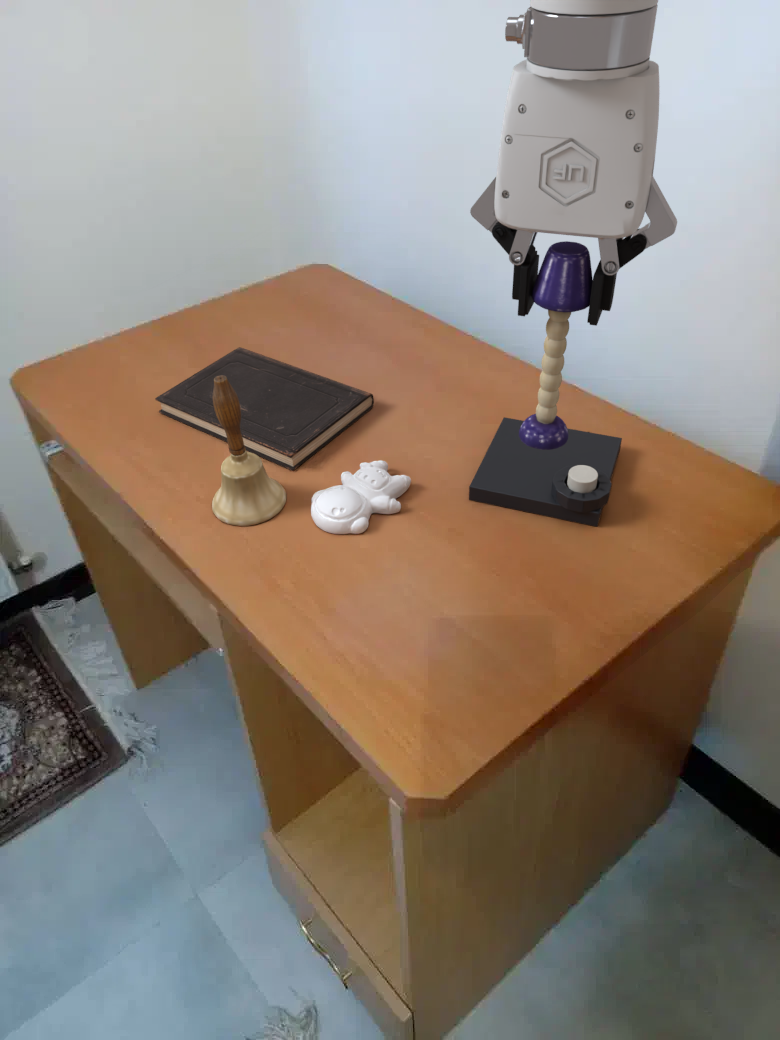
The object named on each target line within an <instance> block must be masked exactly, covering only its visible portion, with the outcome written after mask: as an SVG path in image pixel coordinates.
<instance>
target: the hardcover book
mask: <svg viewBox="0 0 780 1040" xmlns="http://www.w3.org/2000/svg"><path fill="white" fill-rule="evenodd" d="M220 375H224V376H226V377H227V379H228V381H229V383H230V385H231V386H232V387H233V389H234V391H235V392H236V394H237V397H238V399H239V403H240V409H241V422H240V431H241V435H242V438H243V442H244V445H245V448H246V451H247V452H251V453H254V454H256V455H257V456H259V457H260V458H261V459H265V460H267V461H269V462H271V463H273V464H276V465H277V466H280V467H282V468H284V469H287V470H289V471H291V472H294V471H295V470H296V469H297V468H299V467H300V466H301V465H303V464H304V463H306V461H307V460H309V459H311V458H312V457H313V456H314V455H315V454H316V453H318V452H319V451H321V450H322V449H323V448H325V446H327V445H328V444H329V443H331V442H332V441H333V440H334V439H336V438H337V437H338V436H339V435H340V434H342V433H343V432H344V431H346V430H347V429H348V428H349V427H351V426H352V425H353V424H354V423H356V422H357V421H359V419H361V418H362V417H363V416H364V415H366V414H367V413H368V412H370V411H371V410H372V409H373V407H374V406H375V405H374V404H375V399H374V394H372V393H371V392H368V391H365V390H363V389H359V388H357V387H354V386H351V385H348V384H345V383H343V382H339V381H337V380H334V379H331V378H328V377H327V376H323V375H320V374H317V373H314V372H311V371H309V370H306V369H303V368H300V367H297V366H294V365H291V364H289V363H286V362H283V361H280V360H278V359H275V358H272V357H270V356H267V355H264V354H261V353H258V352H255V351H253V350H251V349H247V348H244V347H242V346H239V347H236V348H235V349H234V350H232V351H230V352H228V353H227V354H225V355H224V356H222V357H220V358H218V359H217V360H215V361H213V362H212V363H210V364H209V365H207V366H205V367H204V368H203V369H201V370H199V371H197V372H196V373H194V374H193V375H191V376H189V377H187V378H186V379H184V380H182V381H181V382H179V383H178V384H176V385H174V386H173V387H171V388H170V389H167V390H166V391H164V392H163V393H162V394H160V395H157V397H155V401H156V402H159V403H160V407H161V409H160V410H158V413H159V414H161V415H164V416H165V417H168V418H170V419H173V420H175V421H177V422H180V423H182V424H184V425H187V426H189V427H191V428H193V429H196V430H198V431H200V432H202V433H205V434H207V435H209V436H212V437H214V438H216V439H219V440H220V441H223V442H225V443H228V441H227V436H226V433H225V430H224V428H223V427H222V425H221V424H220V422H219V420H218V418H217V416H216V413H215V410H214V405H213V390H214V378H215V377H217V376H220Z"/></svg>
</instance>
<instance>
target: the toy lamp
mask: <svg viewBox="0 0 780 1040" xmlns="http://www.w3.org/2000/svg"><path fill="white" fill-rule="evenodd" d="M592 282H593V271H592V262H591V255H590V251H589V248H588V247H587V246H586V245H585V244H582V243H580V242H576V241H568V240H566V241H558V242H554V243H553V244H551V245H550V246H549V247H548V248H547V251H546V252H545V255H544V257H543V260H542V263H541V265H540V267H539V269H538V276H537V278H536V281H535V284H534V286H533V289H532V299H533V301H534V304H536V305H537V306H538V307H540V308H542V309H544V310H547V316H548V317H549V318H548V319H547V321H546V324H545V332H546V336H545V339H544V342H543V351H544V353H543V355H542V358H541V369H542V371H541V372H540V375H539V385H540V387H539V388H538V392H537V401H538V402H537V404H536V407H535V413H533V414H531V415H529V416H527V418H525V419H524V420H523V421H524V422H523V423H522V425H521V427H520V429H519V437H520V440H521V441H522V442H523V443H524V444H526V445H527V446H529V447H532V448H536V449H541V450H552V449H556V448H559V447H561V446H563V445H564V444H565V443H566V442H567V440H568V429H569V428H568V427H567V424H566V423H565V421H564V419H562V418H561V417H560V416H558V406H557V404H558V402H559V400H560V387H561V385H562V382H563V374H562V371H563V370H564V366H565V356H564V354H565V352H566V350H567V345H568V342H567V341H568V340H567V335H568V333H569V331H570V322H569V319H570V317H571V315H572V313H574V312H580V311H584V310H585V309H587V308H589V305H590V297H591V290H592ZM567 428H568V429H567Z"/></svg>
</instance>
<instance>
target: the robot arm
mask: <svg viewBox="0 0 780 1040" xmlns="http://www.w3.org/2000/svg"><path fill="white" fill-rule="evenodd" d="M658 4H659V0H529V7H528V8H527V9H526V12H524V14H519V16H508V17H507V18H506V22H505V30H504V36H505V38H504V39H505V42H511V43H512V42H513V43H514V42H515V43H516V44H517V45H521V47H522V50H524V51H523V56H524V58H526V59H524V60H521V61H520V62H519V63H517V64H515V65H514V66H513V67H512V71H511V75H510V80H509V84H508V89H507V93H506V99H505V104H504V110H503V117H502V123H501V130H500V131H501V132H500V139H499V148H498V157H497V166H496V176H495V177H494V179H492V181H491V182H490V183H489V185H488V186H487V187H486V189H484V191H483V192H482V193H481V195H479V197H478V198H477V200H476V201H475V202H474V204H473V205H472V206H471V208H470V210H469V211H470V212H469V213H470V215H471V217H472V218H473V219H474V220H475V221H476V222H477V223H479V224H480V225H481V226H482V227H483V228H484V229H485V230H487V231H489V232H490V233H491V235H492V237H493V239H495V241H496V242H497V243H498V244H499V246H500V247H501V248H502V249H503V250H504V251H505V253H506V254H507V255H508V260H509V262H510V263H511V264H512V265H513V274H512V275H513V276H512V291H511V292H512V293H511V299H512V300H515V301H518V303H517V304H518V305H517V316H518V317H526V316H528V315H529V313H530V311H531V309H532V307H533V305H534V304H535V302H534V301H533V299H532V289H533V286H534V284H535V281H536V278H537V276H538V273H539V264H540V254H538V250H536V246H535V241H536V238H537V236H538V233H543V234H550V235H551V234H553V235H561V236H562V235H563V236H573V237H574V236H575V237H581V238H594V239H597V241H598V251H599V257H600V260H599V261H598V264H597V267H596V268H595V271H594V273H593V275H592V280H593V282H592V290H591V297H590V305H589V307H588V313H587V324H589V325H590V326H598V323H599V321H600V318H601V316H602V313H603V311H604V312H610V311H611V309H612V306H613V301H614V295H615V288H616V282H617V274H618V272H619V270H620V269H621V268H623V267H624V266H625V265H627V264H628V263H630V262H631V261H632V260H634V259H635V258H636V257H638V256H639V255H641V254H642V253H643V252H644V251H645V250H646V249H648V248H650V247H653V246H656V244H659V243H660V242H662V241H663V240H666V239H668V238H669V237H671V236H672V235H674V234H675V232H676V230H677V226H678V219H677V217H676V216H675V213H674V212H673V210H672V208H671V206H670V204H669V203H668V201H667V199H666V198H665V196H664V193H663V191H662V190H661V188H660V186H659V184H658V183H657V181H656V179H655V176H654V169H655V161H656V153H657V143H658V142H657V141H658V132H659V117H660V66H659V64H658V63H657V62H656V61H654V60H651V59H650V57H651V54H652V53H651V52H652V46H653V39H654V32H655V26H656V19H657V14H658V13H657V12H658ZM645 214H646V216H647V218H648V219H649V222H648V223H647V224H645V225H644V226H642V227H641V224H642V222H643V220H644V217H645ZM640 227H641V228H640Z"/></svg>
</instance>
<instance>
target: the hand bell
mask: <svg viewBox="0 0 780 1040" xmlns="http://www.w3.org/2000/svg"><path fill="white" fill-rule="evenodd" d="M213 405H214V410H215V413H216V416H217V418H218V420H219V422H220V424H221V425H222V427H223V428H224V430H225V433H226V436H227V441H228V442H227V446H228V452H229V453H230V455H228V456H227V457H226V458H224V460H223V461H222V463H221V465H220V475H221V483H220V484H221V485H220V487H219V488H218V489H217V491H216V492H215V494H214V496H213V498H212V501H211V510H212V513H213V515H214V516H215V517H216V518H217V519H218V520H219V521H220V522H223V523H224V524H228V525H231V526H238V527H248V526H255V525H258V524H262V523H265V522H266V521H269V520H270V519H273V518H274V517H275V516H277V515H278V514H279V513H280V512H281V511H282V509H283V508H284V506H285V505H286V502H287V492H286V490H285V488H284V487H283V485H282V484H281V483H280V482H279V481H278V480H276V479H274V478H272V477H270V476H269V475H268V473H267V471H266V469H265V466H264V463H263V460H262V458H261V457H260V456H257V455H256V454H254V453H251V452H248V451H246V448H245V445H244V442H243V438H242V435H241V431H240V422H241V409H240V403H239V399H238V397H237V394H236V392H235V391H234V389H233V387H232V386H231V385H230V383H229V381H228V379H227V377H226V376H224V375H220V376H217V377H215V378H214V390H213Z"/></svg>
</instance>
